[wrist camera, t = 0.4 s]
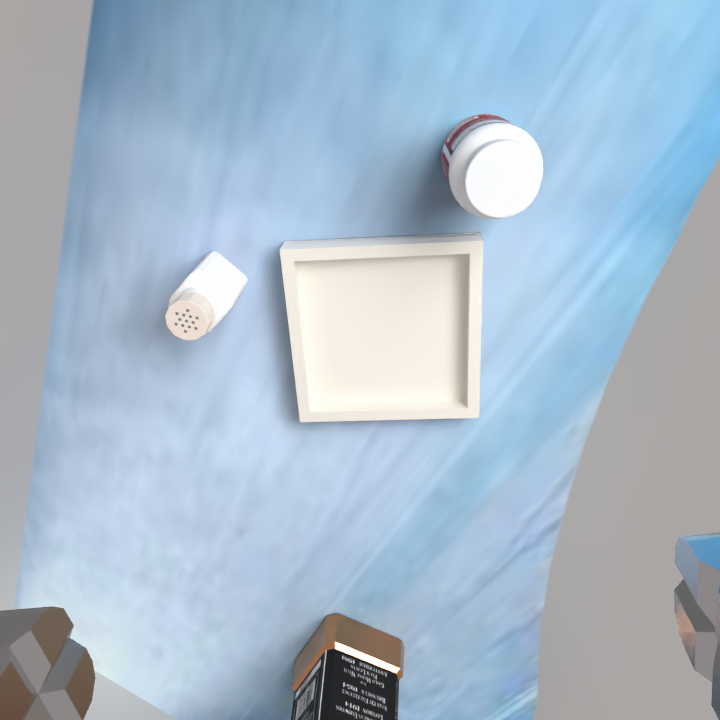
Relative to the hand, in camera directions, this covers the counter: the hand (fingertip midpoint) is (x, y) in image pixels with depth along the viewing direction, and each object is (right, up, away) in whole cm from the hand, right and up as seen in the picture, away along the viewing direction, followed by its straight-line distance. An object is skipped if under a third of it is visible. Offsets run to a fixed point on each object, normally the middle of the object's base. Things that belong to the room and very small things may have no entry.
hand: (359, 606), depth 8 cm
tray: (+2, +6, +47) cm, 48 cm away
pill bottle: (+9, +19, +41) cm, 46 cm away
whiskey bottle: (-1, -31, +66) cm, 72 cm away
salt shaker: (-12, +10, +46) cm, 49 cm away
